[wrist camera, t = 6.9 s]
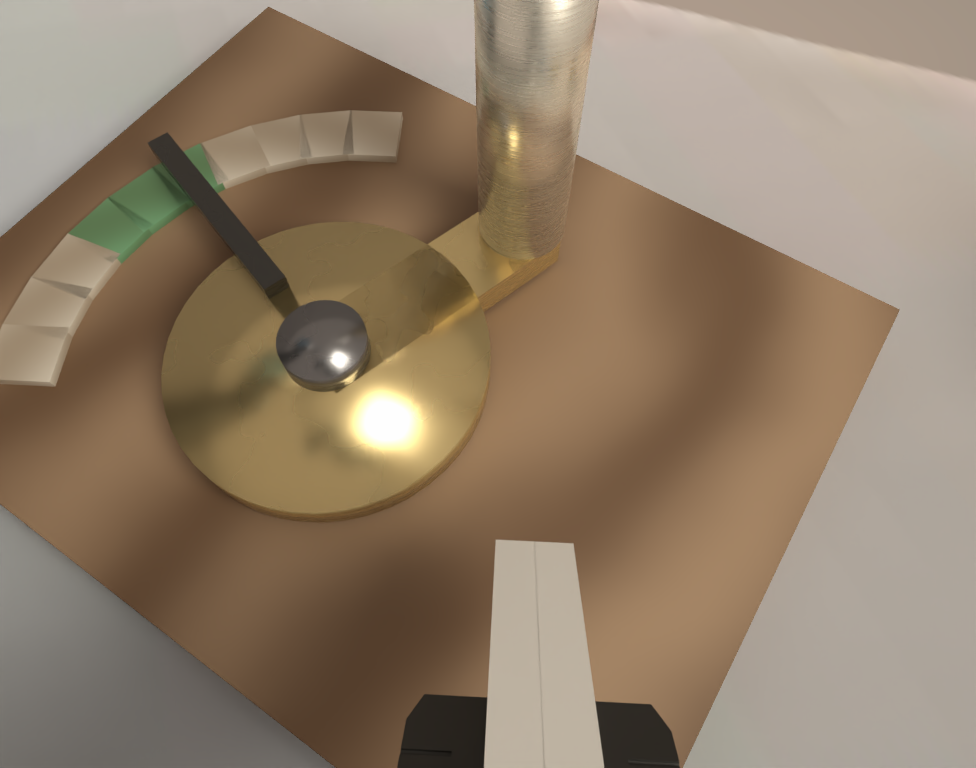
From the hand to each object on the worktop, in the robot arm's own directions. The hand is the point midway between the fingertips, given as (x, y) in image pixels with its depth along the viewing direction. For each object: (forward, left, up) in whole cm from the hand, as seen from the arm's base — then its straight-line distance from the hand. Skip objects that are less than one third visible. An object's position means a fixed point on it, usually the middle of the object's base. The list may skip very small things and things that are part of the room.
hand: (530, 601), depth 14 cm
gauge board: (-8, +5, -6) cm, 11 cm away
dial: (-9, +5, -4) cm, 11 cm away
